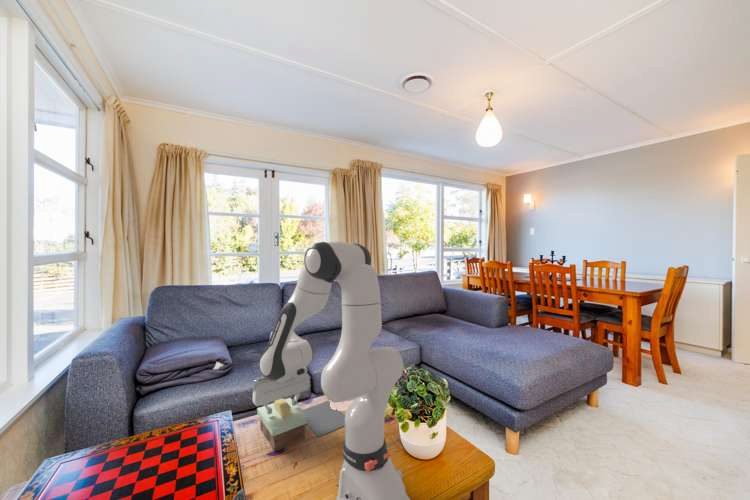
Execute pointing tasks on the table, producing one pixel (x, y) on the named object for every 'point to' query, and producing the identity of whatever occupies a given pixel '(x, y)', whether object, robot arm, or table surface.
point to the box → (283, 436)
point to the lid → (282, 416)
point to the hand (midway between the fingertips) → (282, 409)
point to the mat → (324, 418)
